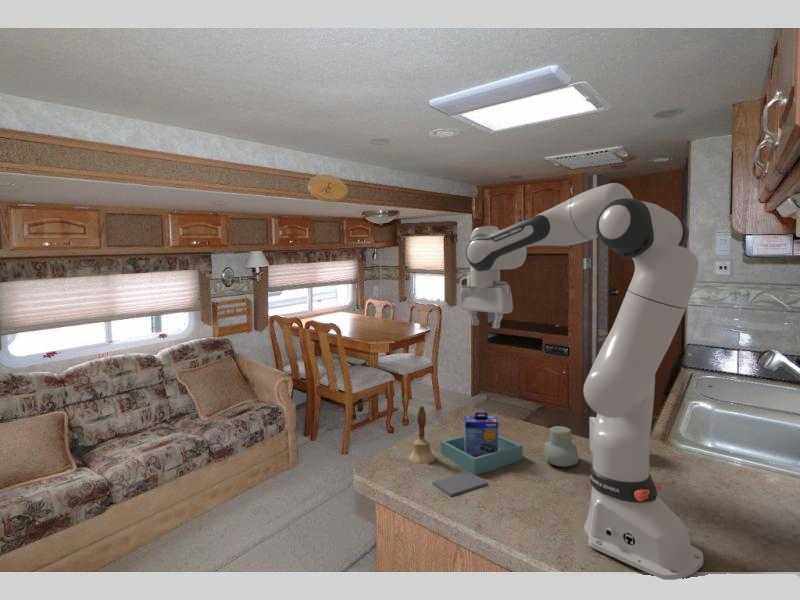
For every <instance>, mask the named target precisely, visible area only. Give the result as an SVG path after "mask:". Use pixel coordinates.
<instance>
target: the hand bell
mask: <svg viewBox="0 0 800 600" xmlns="http://www.w3.org/2000/svg"><path fill="white" fill-rule="evenodd" d="M426 423H427V414H426V410H425V407H424V406H419V408H418V412H417V424H418V427H419V429H418V439H416V440H415V441H414V444H413V449H412V452H411V454H410V455H409V456H408V459H409V461H410V462H412V463H414V464H419V465H427V464H430V463H433V462H434V461H435V460H436V455H435V454H433V452H432V450H431V446H430V441H429V440H427V439H426V438H425V435H426V433H425V426H426Z"/></svg>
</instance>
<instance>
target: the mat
mask: <svg viewBox="0 0 800 600" xmlns="http://www.w3.org/2000/svg"><path fill="white" fill-rule="evenodd" d="M488 484H489V483H488V481H486V480H485V479H483V478H482V477H479V476H478V475H474V474H473V473H471V472H469V471H464V472H460V473H457V474H455V475H451V476H447V477H445V478H441V479H437V480H434V481H432V485H433V486H435V487H436V488H437V489H439V490H441V492H443V493H444V494H446V495H447V496H449V497H455V496H456V495H461V494H463V493H466V492H469V491H471V490H474V489H479V488H482V487H484V486H487V485H488Z"/></svg>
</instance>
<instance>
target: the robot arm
mask: <svg viewBox="0 0 800 600" xmlns="http://www.w3.org/2000/svg"><path fill="white" fill-rule="evenodd" d="M470 235H471V236H470V239H469V241H468V243H467V246H466V249H465V255H466V259H467V262H468V263H469V265H470V269H469V274H468V275H467V276H466V277H463V278H461V279H460V280H459V287H461V288H460V291H459V303H460V304H459V306H460V307H461V310H464V311H468V315H469V317H470V319H471V326H479V325H480V319H478V316H477V314H478V312H482V313H492V314H493V313H494V317H495V319H494V321H492V322H491V327H492V329H500V327H501V321H502V319H503V317H504V314H511V313H512V311H513V310H514V304H513V296H512V291H511V285H509V283H508V282H507V281H505V280H502V281H501V271H500V270H514V269H518V268H520V267H522V266H523V265H524V263H525V262H526V260H527V256H528V247H529V248H530V247H535V246H561V247H562V246H573V245H578V244H582V243H585V242H588V241H591V240H594V239H597V238H598V239H599V240H600V241H601V242H602V243H603V244H604V245H605V246H606V247H608V248H609V249H611V250H612V251H613V252H615V253H616V254H618V255H619V256H620V257H621V258H623V259H624V260H631V259H632V260H633V263H634V272H633V276H632V278H631V281H630V283H629V286H628V288H627V291H626V292H625V296H624V298H623V300H622V303H621V305H620V308H619V310H618V313H617V315H616V318H615V320H614V322H613V325H612V326H611V327H612V328H610V331H609V333H608V335H607V336H606V338H605V340H604V341H603V343H602V346H601V347H600V350H599V352H598V354H597V356H596V358H595V360H594V362H593V364H592V367H590V370H589V373H588V375H587V377H586V379H585V382H584V384H583V389H582V390H583V397H584V401H585V402H586V404H587V406H589V408H590V409H592V411H593V412H594V413H596V422H595V426H594V429H593V452H592V465H591V466H590V473H589V474H590V476H589V479H590V481H589V482H590V485H591V494H590V501H589V509H588V512H587V517H586V520H585V523H584V525H583V526H584V532H585V533H586V535H587V537H588V541H587V542H588V546H589V548H592V549H594V550H596V551H599V552H601V553H603V554H605V555H607V556H610V557H611V558H614V559H616V560H619V561H621V562H623V563H625V564H627V565H630V566H632V567H634V568H636V569H638V570H641V571H643V572H645V573H647V574H649V575H651V576H654V577H656V578H658V579H661V580H665V581H672V580H673V581H674V580H675V581H676V580H680V579H684V578H687V577H688V576H691V575H693V574H694V573H696V572H698V571H699V570H700V568H702V567H703V565H704V553H703V552H702V550H700V549H698V548H697V547H696V546H695V545H694V546H693V545H692V544H691V541H690V535H689V531H688V528H687V525H686V524H685V523H684V521H682V519H680V518H679V517H678V516H677V514H676V513H674V511H673V510H672V509H671V508H670V507H669V506H668V505H667V504H666V503H665V502H664V500H662V499H661V498H660V497H659V496H658V491H659V490H661V489H663V486H662V485H663V483H661V482H660V483H657V484H655V482H654V480H653V477H652V475H651V474H650V442H651V441H650V440H651V429H652V423H653V412H654V402H655V387H656V386H655V385H656V373H657V371H658V369H659V368H660V365H661V363H662V361H663V359H664V357H665V355H666V353H667V351H668V350H669V347H670V346H671V344H672V341H673V339H674V337H675V335H676V332H677V330H678V327H679V325H680V323H681V321H682V318H683V316H684V315H685V312H686V309H687V307H688V306H689V305H688V304H689V302H690V299H691V296H692V293H693V291H694V287H695V284H696V279H697V275H698V272H699V260H698V258H697V256H696V254H694V253H693V252H692V251H691V250H689V249H688V248H686V247H685V246H686V245H687V243H688V240H689V236H690V233H689V228H688V224H687V222H686V221H685V220H684V219H683V218H682V217H681V216H680V215H679V214H677V213H676V212H674V211H671V210H668V209H665V208H663V207H661V206H660V205H658V204H655V203H652V202H650V201H649V202H648V201H643V200H639V199H636V198H634V197H633V194H632V193H631V190H629V189H628V188H627V187H626V186H625V185H623V184H621V183H618V182H611V183H605V184H603V185H600V186H599V185H598V186H595V187H593V188H590V189H588V190H585V191H583V192H581V193H579V194H577V195H574V196H573V197H570V198H569V199H567V200H565V201H563V202H561V203H559V204H556V205H555V206H553V207H551V208H549V209H547V210H544V211H543V212H540V213H538V214H536V215H534V216H531V217H530V218H527V219H524V220H522V221H520V222H517V223H514V224H512V225H510V226H507V227H505V228H503V229H499V227H498V226H497V225H489V224H488V225H482V226H477V227H476V228H474V229H473V230H472V232H471V234H470Z"/></svg>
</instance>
